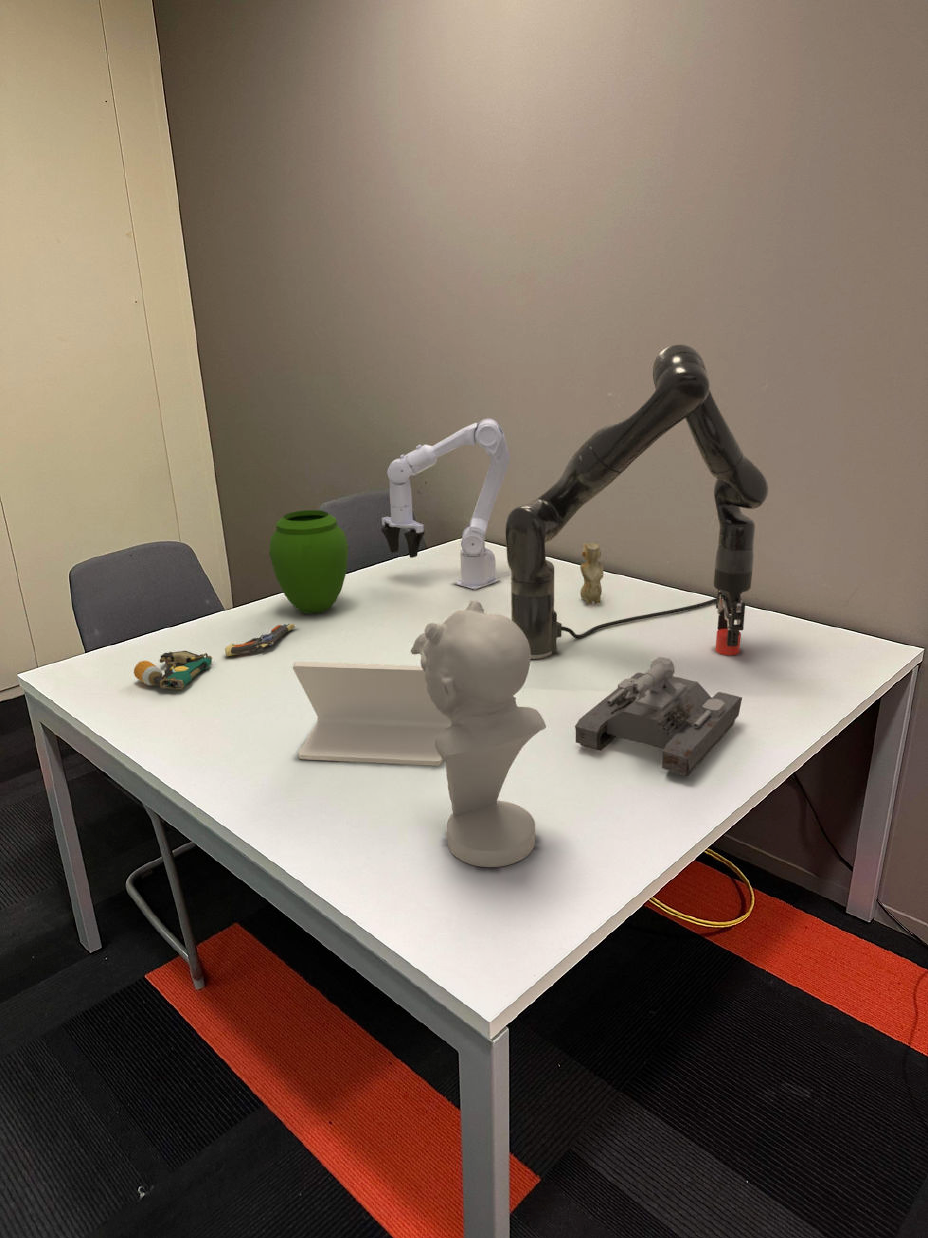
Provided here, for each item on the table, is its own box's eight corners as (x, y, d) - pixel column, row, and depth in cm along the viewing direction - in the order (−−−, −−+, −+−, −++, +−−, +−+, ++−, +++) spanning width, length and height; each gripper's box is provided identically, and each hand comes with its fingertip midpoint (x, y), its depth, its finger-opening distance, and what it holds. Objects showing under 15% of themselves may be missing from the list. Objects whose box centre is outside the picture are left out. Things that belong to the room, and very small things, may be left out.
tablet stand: (441, 765, 143) (437, 672, 137) (297, 759, 146) (287, 668, 140) (456, 716, 160) (453, 631, 154) (327, 711, 163) (319, 628, 157)
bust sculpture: (481, 772, 140) (476, 569, 128) (565, 848, 120) (569, 617, 108) (392, 800, 134) (378, 588, 121) (465, 886, 114) (457, 642, 101)
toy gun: (221, 647, 188) (262, 644, 186) (256, 622, 206) (295, 619, 204) (223, 659, 189) (265, 656, 187) (258, 633, 207) (297, 630, 205)
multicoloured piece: (177, 659, 191) (231, 671, 185) (120, 684, 176) (176, 698, 171) (176, 641, 190) (230, 653, 184) (118, 665, 175) (174, 678, 169)
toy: (637, 695, 165) (641, 623, 160) (740, 721, 154) (747, 645, 149) (574, 750, 146) (575, 670, 141) (685, 784, 135) (691, 699, 130)
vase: (368, 603, 220) (362, 511, 212) (318, 627, 205) (308, 529, 196) (311, 592, 230) (303, 503, 222) (259, 614, 215) (248, 520, 206)
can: (713, 646, 188) (715, 628, 186) (736, 646, 187) (738, 628, 186) (717, 655, 183) (718, 636, 182) (741, 655, 183) (743, 637, 181)
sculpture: (599, 596, 220) (601, 540, 215) (605, 605, 214) (607, 548, 208) (577, 597, 220) (578, 541, 215) (582, 606, 213) (583, 549, 208)
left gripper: (372, 504, 229) (375, 552, 233) (408, 511, 219) (411, 562, 224) (391, 499, 233) (394, 547, 238) (428, 506, 224) (430, 556, 229)
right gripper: (761, 577, 172) (753, 651, 178) (743, 556, 185) (736, 626, 191) (723, 577, 172) (717, 651, 178) (708, 557, 186) (702, 626, 191)
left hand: (403, 554), depth 231 cm, fingers open, 7 cm apart
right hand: (727, 638), depth 185 cm, fingers open, 8 cm apart
